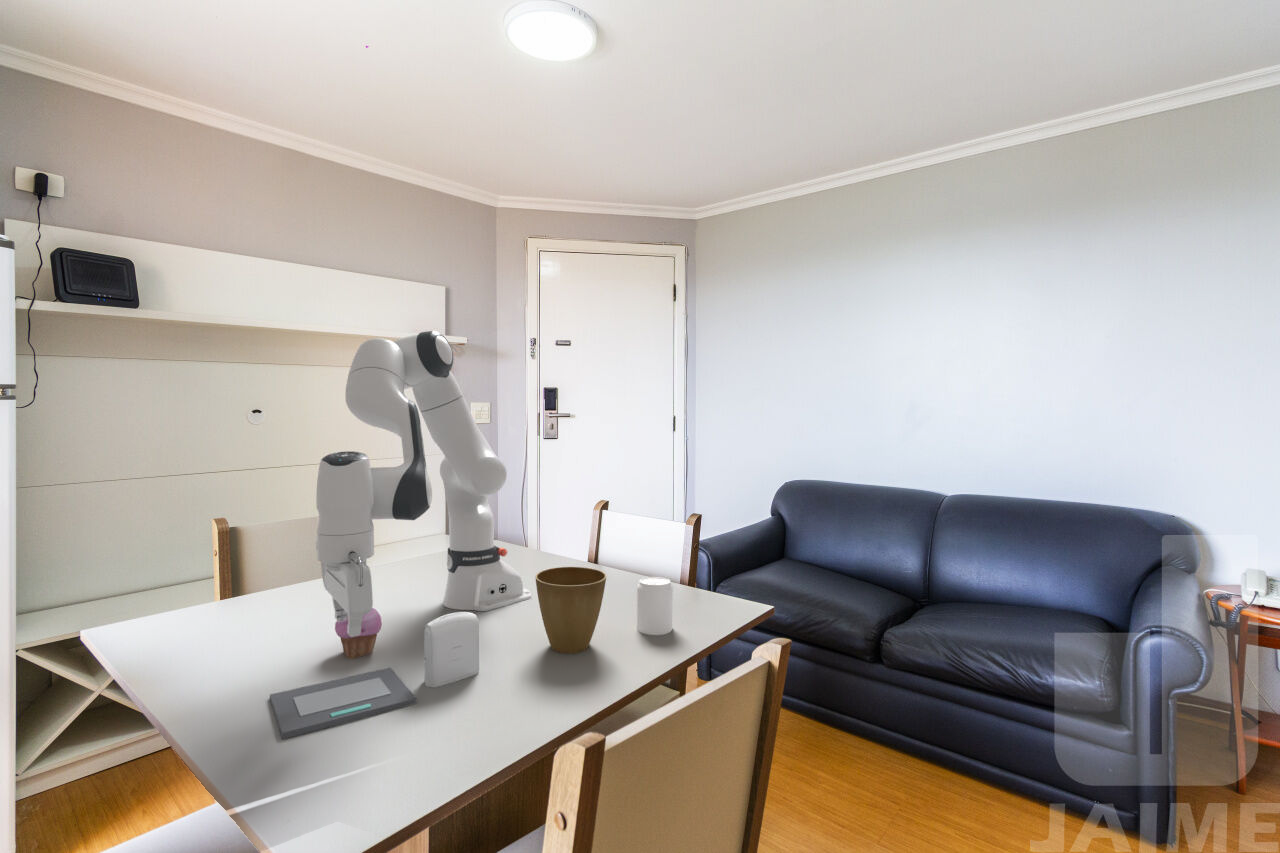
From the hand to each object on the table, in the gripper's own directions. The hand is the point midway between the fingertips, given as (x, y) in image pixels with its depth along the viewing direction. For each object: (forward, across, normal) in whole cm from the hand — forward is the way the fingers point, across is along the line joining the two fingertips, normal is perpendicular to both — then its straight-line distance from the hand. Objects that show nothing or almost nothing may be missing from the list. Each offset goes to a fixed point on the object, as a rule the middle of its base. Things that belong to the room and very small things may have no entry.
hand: (347, 627), depth 107 cm
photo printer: (+14, -2, -18) cm, 22 cm away
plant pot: (+14, -2, -43) cm, 45 cm away
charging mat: (+13, 0, +1) cm, 13 cm away
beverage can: (+14, -4, -64) cm, 66 cm away
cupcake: (+13, +20, -6) cm, 25 cm away
